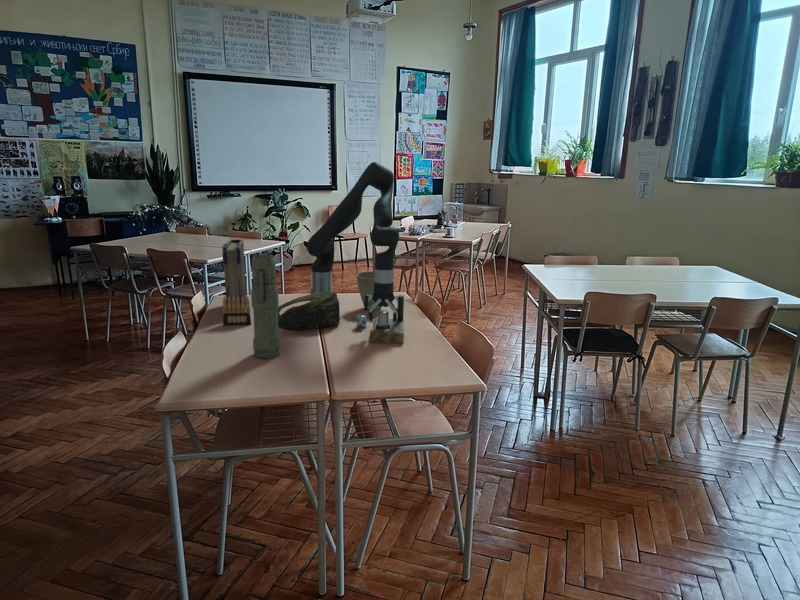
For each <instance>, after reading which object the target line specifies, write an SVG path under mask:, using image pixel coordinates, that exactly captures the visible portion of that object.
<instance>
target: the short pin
mask: <svg viewBox="0 0 800 600" xmlns="http://www.w3.org/2000/svg"><path fill="white" fill-rule="evenodd" d="M367 319H368V317H367V314H356V329H357V328H359V329H358V330H365V329H364V328H366V329H367Z"/></svg>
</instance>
